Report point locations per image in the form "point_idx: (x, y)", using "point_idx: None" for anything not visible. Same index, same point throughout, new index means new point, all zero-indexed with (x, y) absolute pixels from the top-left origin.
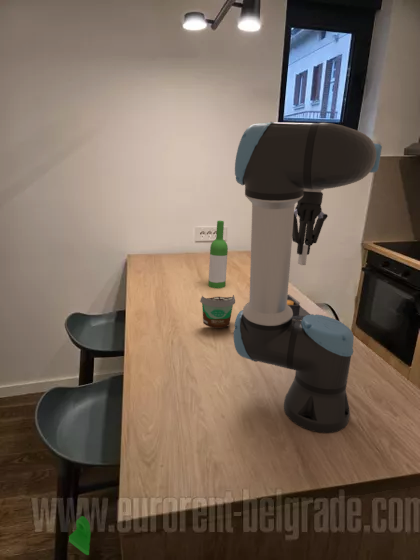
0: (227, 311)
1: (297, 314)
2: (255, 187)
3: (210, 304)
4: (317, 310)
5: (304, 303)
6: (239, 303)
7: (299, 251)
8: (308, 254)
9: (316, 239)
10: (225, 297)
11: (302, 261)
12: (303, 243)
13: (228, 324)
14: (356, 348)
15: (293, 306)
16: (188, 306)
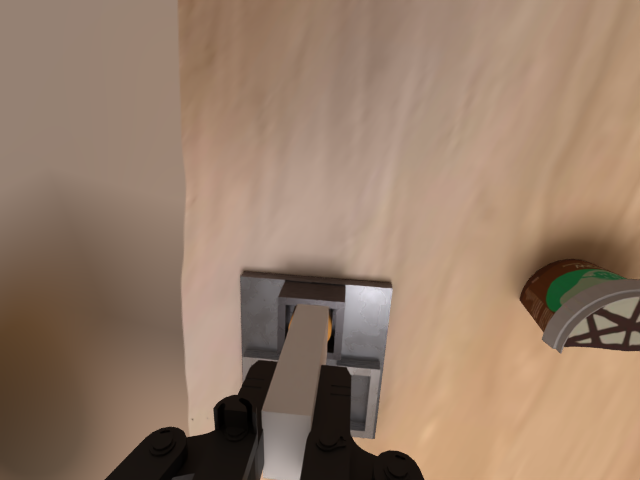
0: (584, 281)
1: (289, 282)
2: None
3: None
4: (191, 328)
5: (207, 384)
6: (415, 418)
7: (345, 386)
8: (259, 360)
9: (133, 465)
10: (592, 344)
11: (321, 320)
12: (314, 437)
13: (539, 272)
14: (206, 38)
15: (303, 297)
16: (591, 425)
